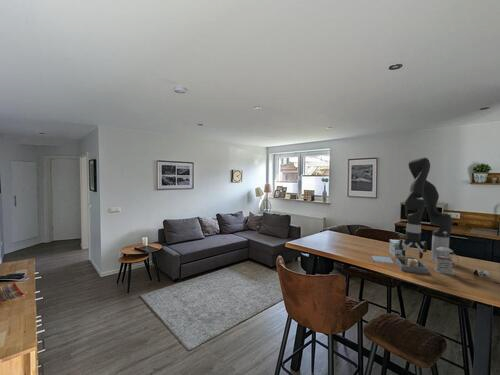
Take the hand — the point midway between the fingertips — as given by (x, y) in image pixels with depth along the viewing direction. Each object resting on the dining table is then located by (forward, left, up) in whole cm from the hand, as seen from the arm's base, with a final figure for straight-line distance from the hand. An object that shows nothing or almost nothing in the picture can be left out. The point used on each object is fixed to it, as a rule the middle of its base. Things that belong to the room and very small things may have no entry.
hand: (411, 257), depth 146 cm
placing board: (+14, -14, -8) cm, 22 cm away
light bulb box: (+2, -29, -9) cm, 31 cm away
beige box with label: (-1, 0, -8) cm, 8 cm away
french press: (-19, -4, -9) cm, 21 cm away
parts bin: (-1, -3, -8) cm, 9 cm away
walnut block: (-1, -7, -8) cm, 10 cm away
